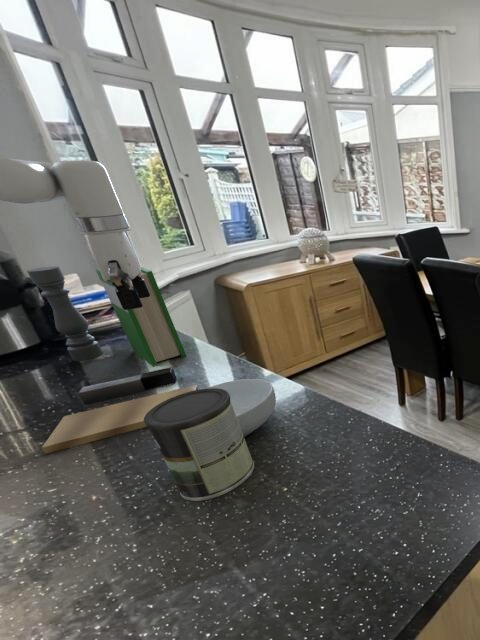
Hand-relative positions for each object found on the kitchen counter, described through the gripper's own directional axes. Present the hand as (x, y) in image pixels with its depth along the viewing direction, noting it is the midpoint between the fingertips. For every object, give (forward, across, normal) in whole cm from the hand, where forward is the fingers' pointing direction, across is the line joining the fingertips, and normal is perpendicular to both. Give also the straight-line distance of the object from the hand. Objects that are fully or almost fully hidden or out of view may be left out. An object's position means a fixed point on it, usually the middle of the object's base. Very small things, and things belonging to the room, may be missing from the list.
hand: (137, 302), depth 89 cm
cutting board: (+20, +17, -5) cm, 27 cm away
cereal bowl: (+20, +35, +13) cm, 43 cm away
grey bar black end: (+20, +2, -7) cm, 21 cm away
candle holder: (+20, -32, -22) cm, 43 cm away
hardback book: (+20, -21, -5) cm, 29 cm away
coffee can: (+20, +49, +11) cm, 54 cm away
